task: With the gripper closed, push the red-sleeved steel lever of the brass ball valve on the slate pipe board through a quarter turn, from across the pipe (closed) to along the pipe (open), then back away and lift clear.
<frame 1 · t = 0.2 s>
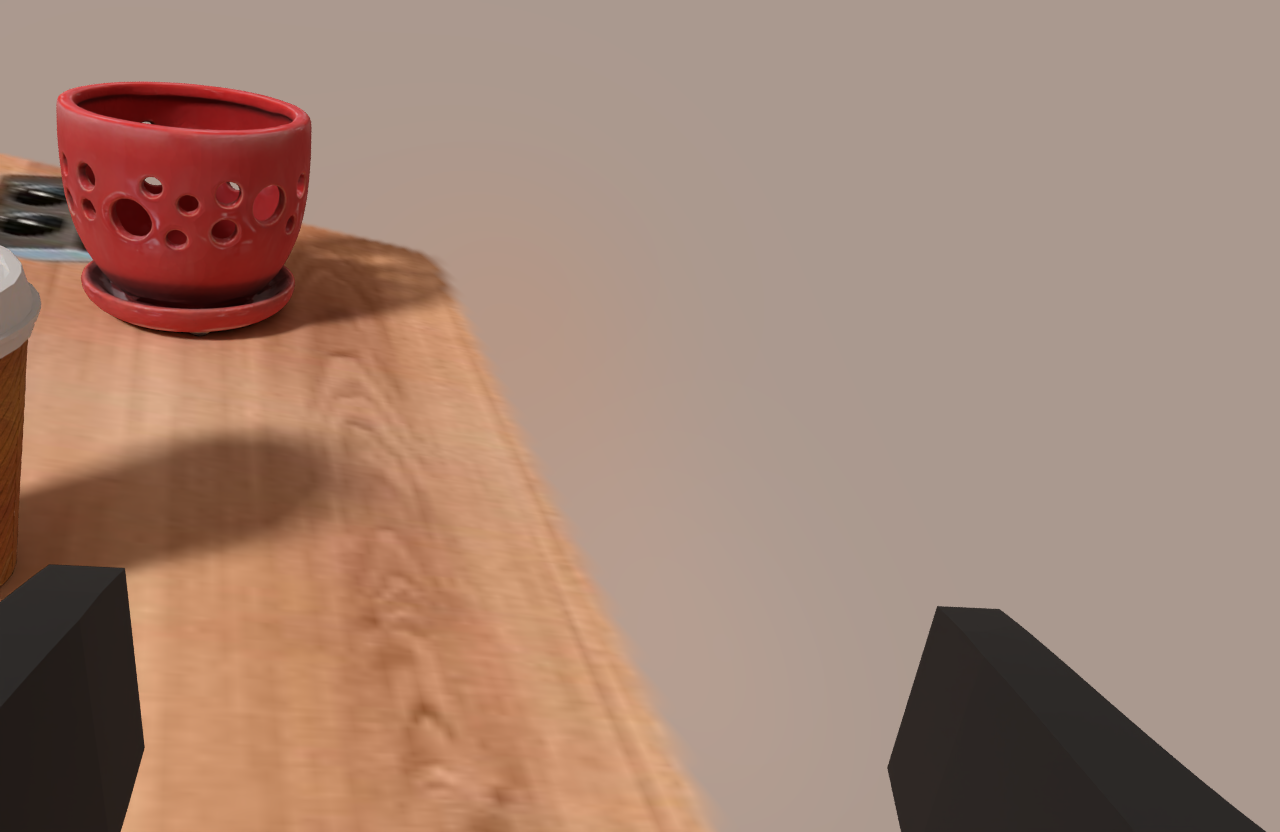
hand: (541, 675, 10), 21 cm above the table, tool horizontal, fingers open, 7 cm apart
plant pot: (193, 306, 68), on the table
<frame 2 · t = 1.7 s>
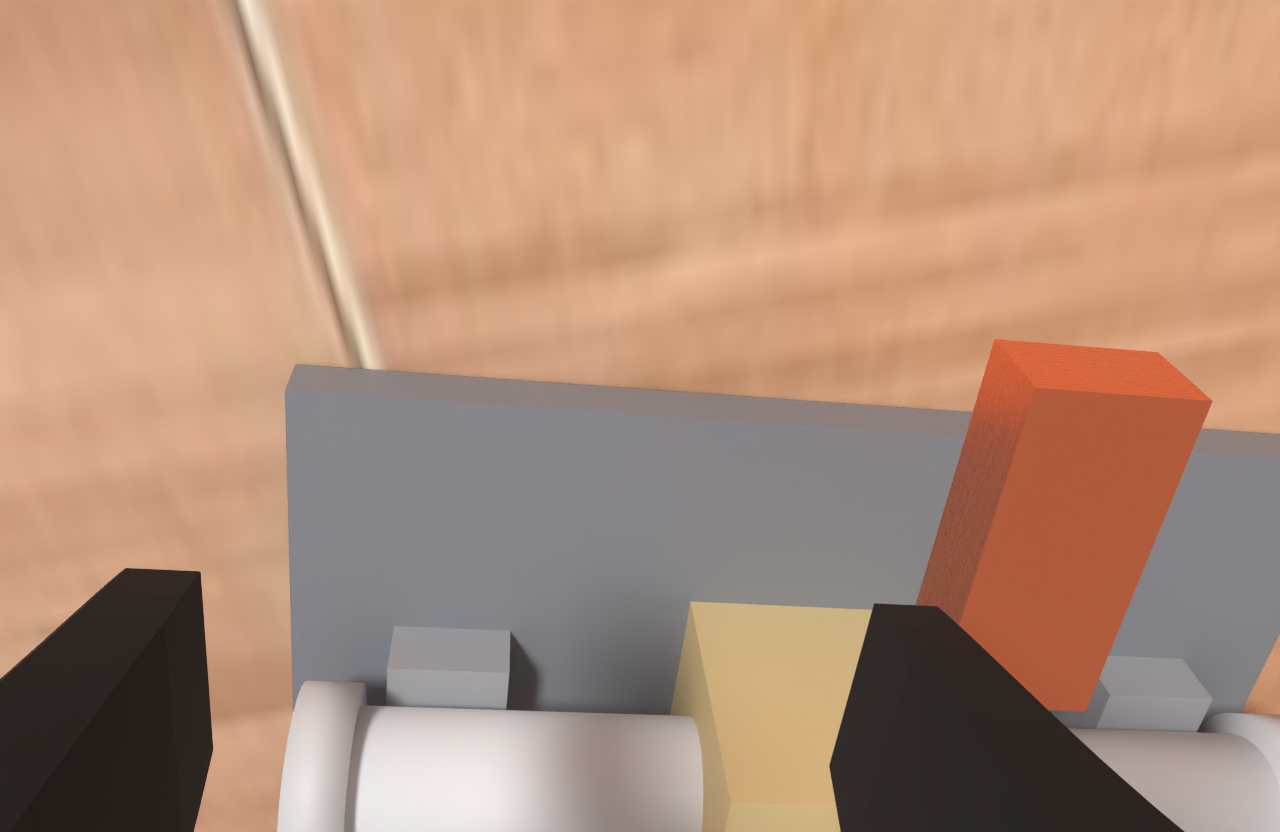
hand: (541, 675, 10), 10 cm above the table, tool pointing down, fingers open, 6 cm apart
valve board: (782, 671, 24), on the table
valve lever: (959, 769, 15), point 8 cm above the table, hinge at 90.0°
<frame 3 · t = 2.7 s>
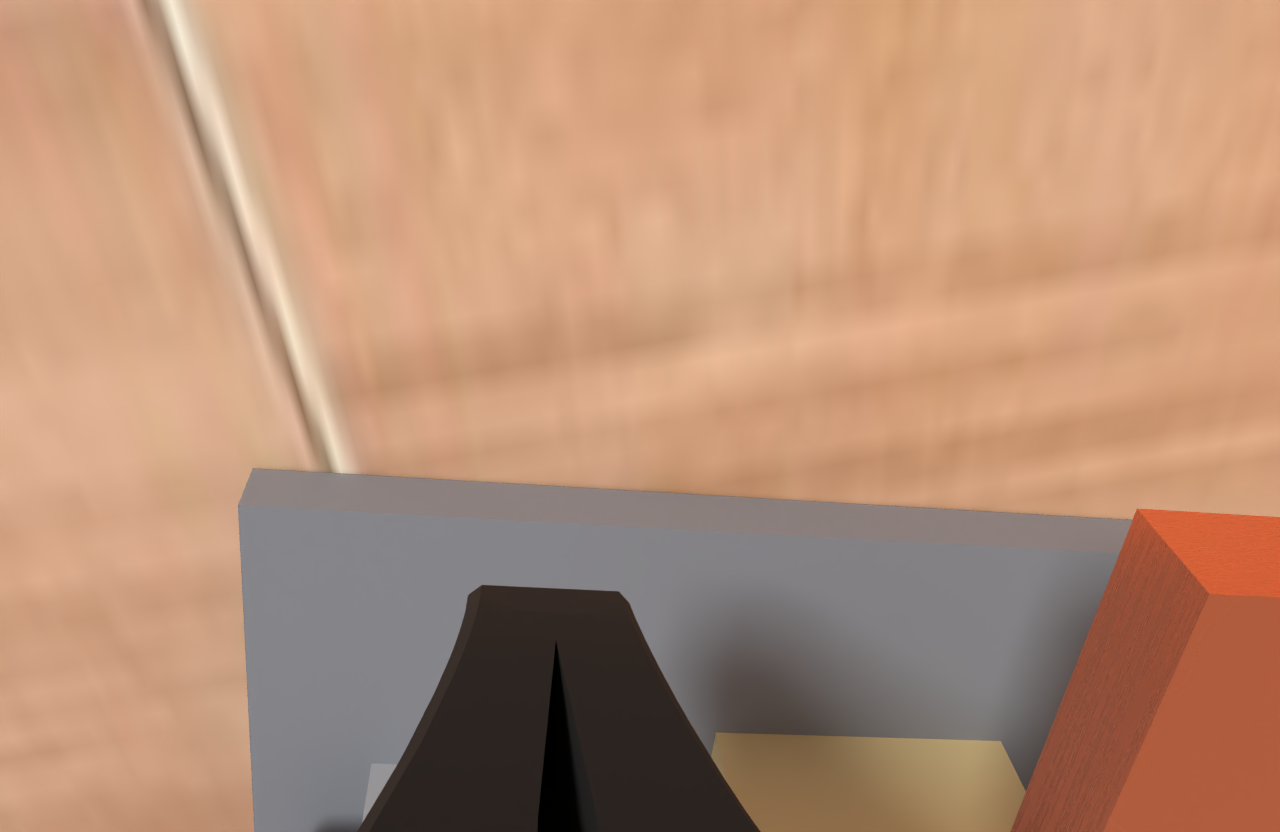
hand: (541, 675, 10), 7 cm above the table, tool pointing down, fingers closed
valve board: (818, 797, 21), on the table
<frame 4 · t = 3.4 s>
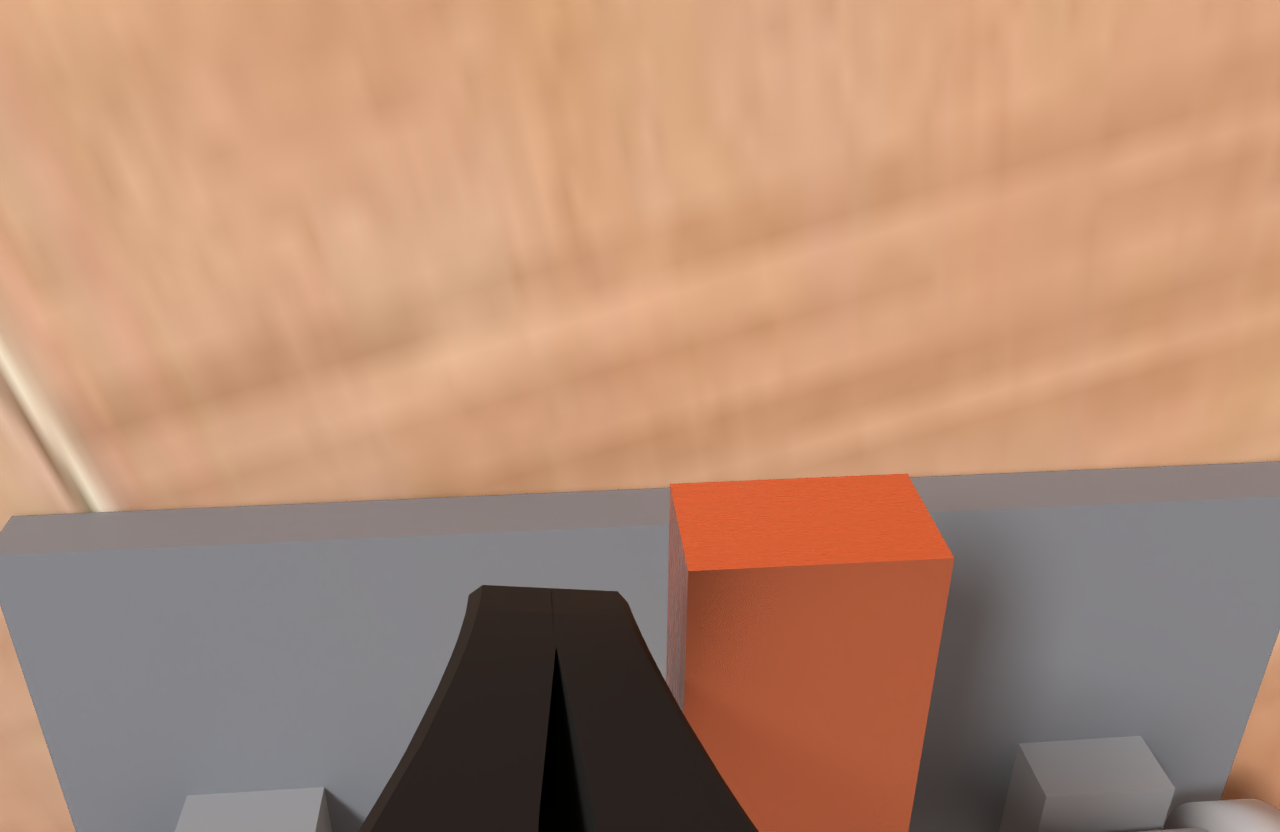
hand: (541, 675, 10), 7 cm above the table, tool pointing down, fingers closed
valve board: (671, 787, 21), on the table
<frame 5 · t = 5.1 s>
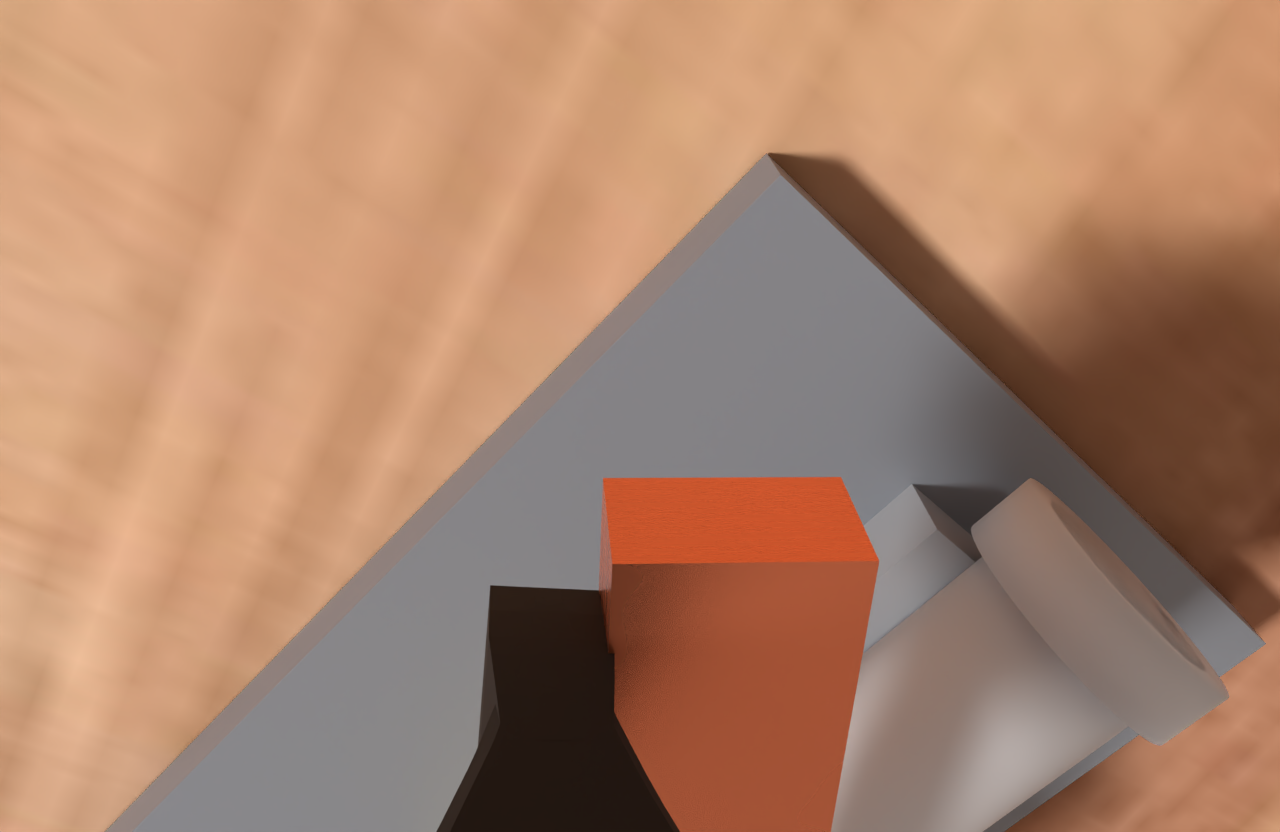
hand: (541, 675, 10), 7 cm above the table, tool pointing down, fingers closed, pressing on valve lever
valve board: (616, 790, 21), on the table
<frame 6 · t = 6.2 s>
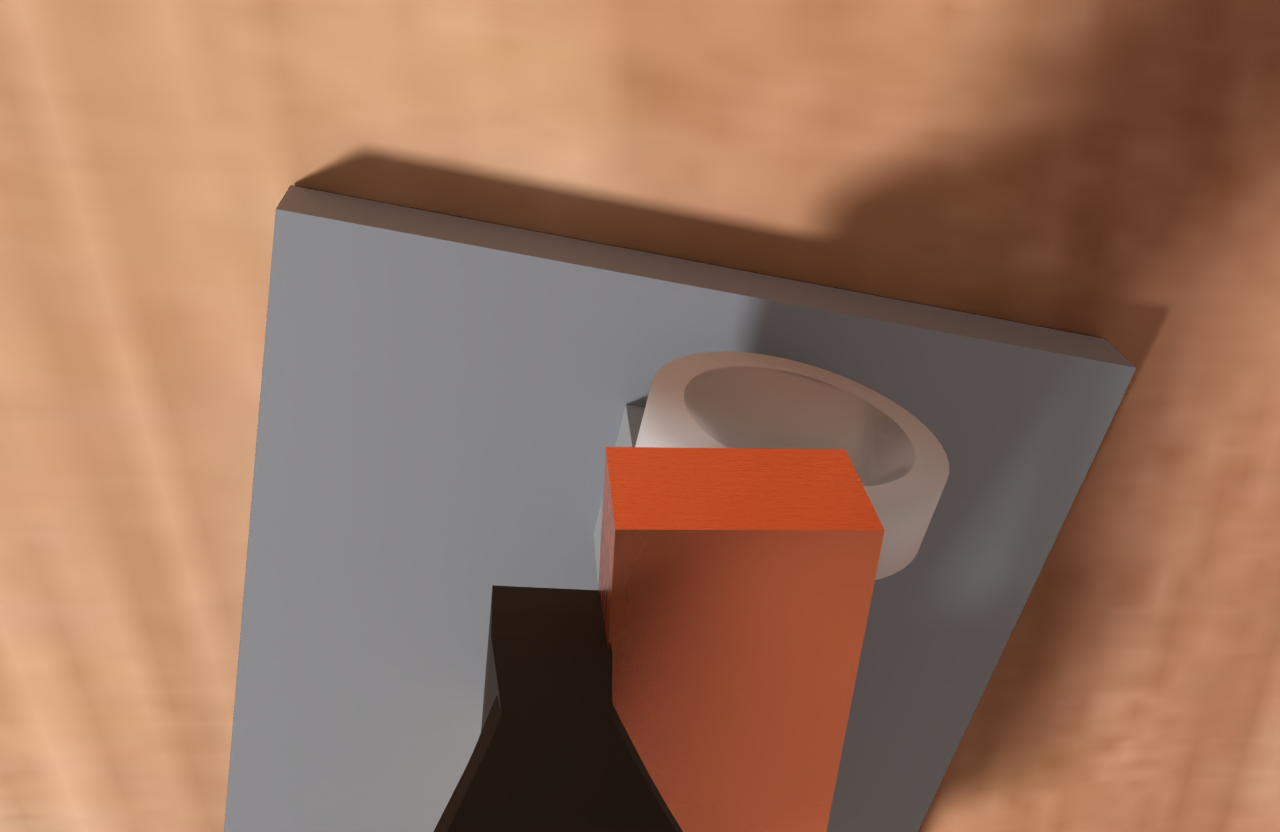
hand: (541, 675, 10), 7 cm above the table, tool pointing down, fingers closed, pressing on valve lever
valve board: (610, 780, 21), on the table
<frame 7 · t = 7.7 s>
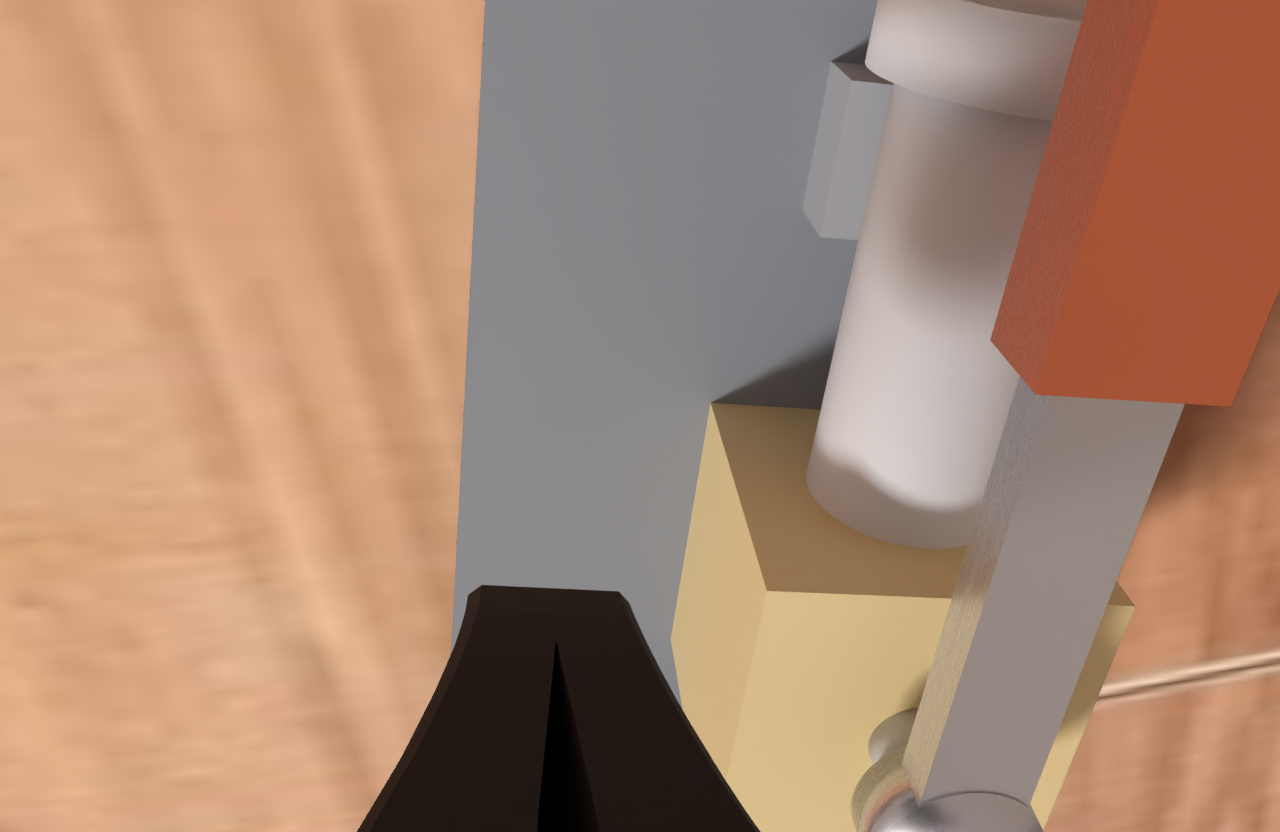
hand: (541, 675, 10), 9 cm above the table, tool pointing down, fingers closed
valve board: (815, 503, 21), on the table
valve lever: (1059, 509, 12), point 8 cm above the table, hinge at 0.4°
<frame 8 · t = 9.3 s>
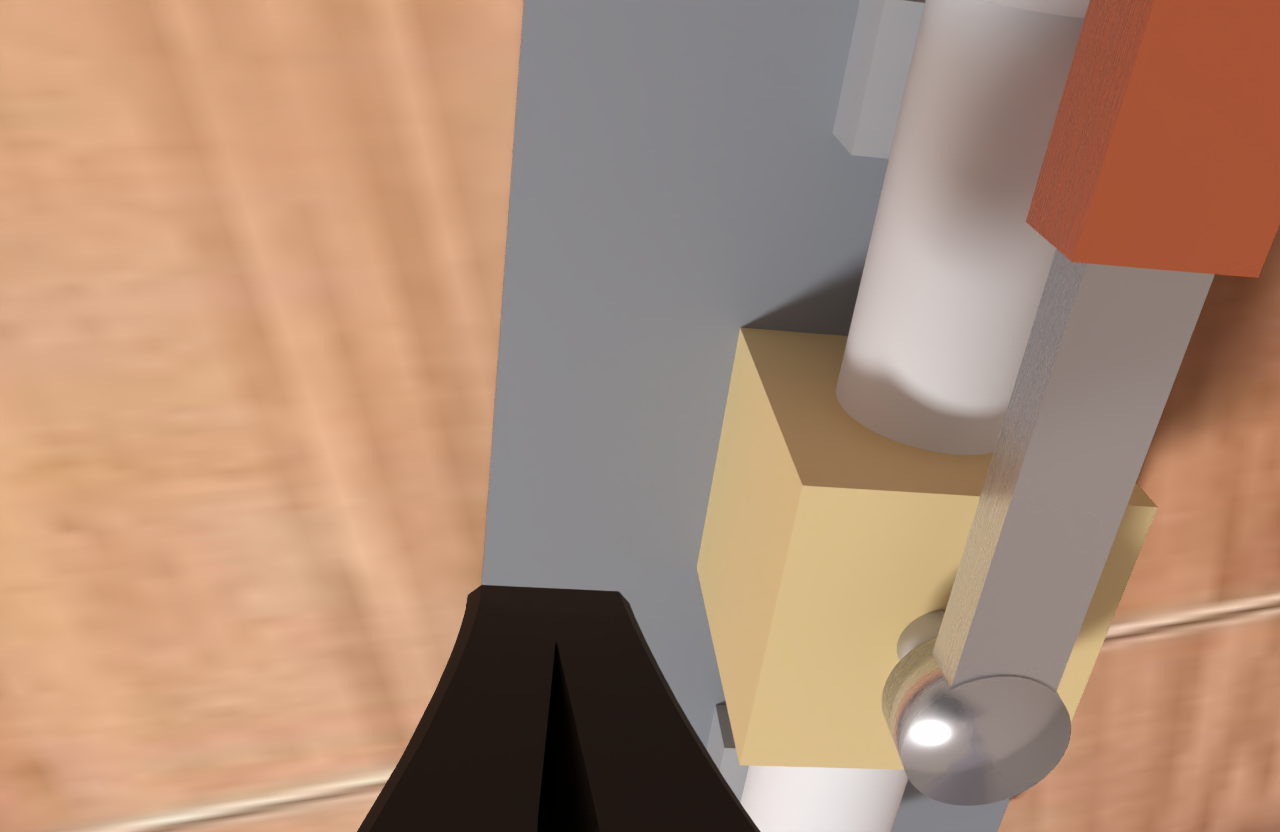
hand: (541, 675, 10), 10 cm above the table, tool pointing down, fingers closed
valve board: (838, 436, 22), on the table
valve lever: (1090, 389, 13), point 8 cm above the table, hinge at 0.4°
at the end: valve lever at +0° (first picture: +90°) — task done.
